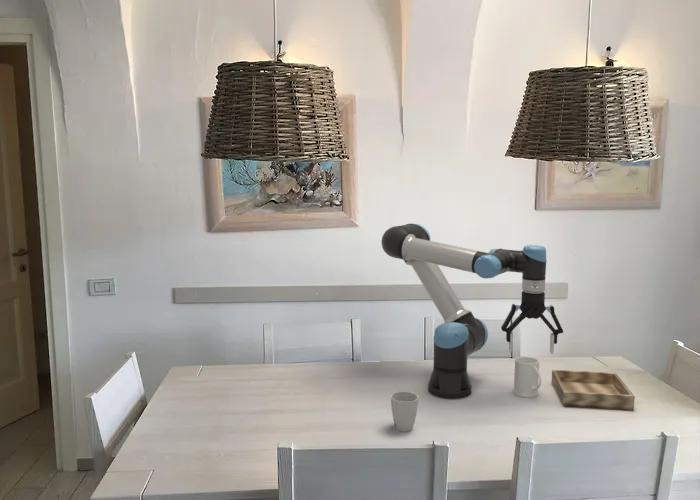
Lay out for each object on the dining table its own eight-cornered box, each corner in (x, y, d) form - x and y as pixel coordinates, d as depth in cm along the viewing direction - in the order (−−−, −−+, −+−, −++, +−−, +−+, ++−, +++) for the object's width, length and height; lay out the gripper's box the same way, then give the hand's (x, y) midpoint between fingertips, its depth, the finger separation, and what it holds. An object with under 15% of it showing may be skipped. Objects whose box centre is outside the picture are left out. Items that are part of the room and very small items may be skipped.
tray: (563, 406, 200) (564, 392, 199) (551, 382, 222) (552, 369, 221) (633, 410, 197) (634, 396, 196) (614, 386, 218) (615, 372, 218)
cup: (400, 419, 190) (401, 389, 188) (422, 427, 185) (423, 395, 183) (385, 428, 184) (385, 397, 182) (407, 436, 179) (408, 404, 177)
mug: (548, 399, 206) (550, 365, 204) (526, 402, 204) (528, 368, 202) (529, 387, 217) (531, 355, 215) (508, 389, 215) (509, 357, 213)
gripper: (496, 292, 203) (494, 353, 206) (574, 294, 200) (571, 356, 203) (494, 288, 211) (492, 347, 214) (569, 289, 207) (566, 349, 210)
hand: (530, 351), depth 208 cm, fingers open, 13 cm apart
